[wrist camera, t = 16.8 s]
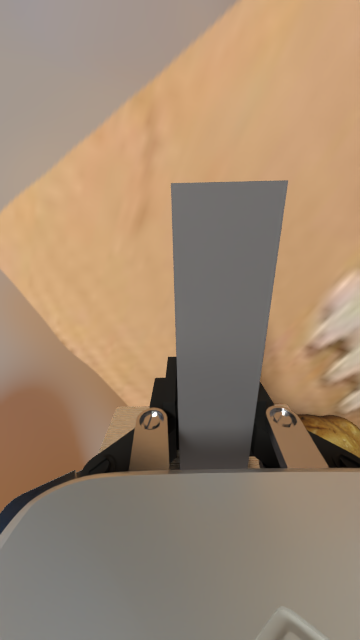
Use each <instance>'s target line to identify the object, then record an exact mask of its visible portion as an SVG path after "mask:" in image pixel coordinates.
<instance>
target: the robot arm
mask: <svg viewBox="0 0 360 640" xmlns="http://www.w3.org/2000/svg"><path fill="white" fill-rule="evenodd" d="M177 450H179V420H178V388H177V357H168V362H167V371H166V378H155V382H154V387H153V392H152V397H151V402H150V407H149V408H148V409H146V410H144V411H142V412H141V413H140V414H139V415H138V417H137V419H136V424H135V428H134V429H133V430H131V431H130V432H128V433H127V434H126V435H124V436H123V437H121V438H120V439H119V440H117V441H116V442H114V443H113V444H112V445H110V446H109V447H107V448H106V449H105V450H103V451H102V452H100V453H99V454H98V455H96V456H95V457H93V458H92V459H91V460H90V461H89V462H88V463H87V464H86V465H85V467H84V468H83V470H81V471H79V472H77V473H76V471H75V470H74V471H72V472H70V473H68V474H65V475H63V476H61V477H59V478H57V479H54V480H52V481H50V482H48V483H46V484H44V485H41V486H39V487H37V488H35V489H32V490H30V491H28V492H26V493H24V494H22V495H20V496H18V497H17V498H15V499H14V500H12V501H11V502H10V503H9V504H8V505H7V506H6V507H5V508H4V510H3V511H2V512H1V513H0V640H360V458H359V457H357V456H356V455H354V454H352V453H350V452H349V451H347V450H345V449H343V448H341V447H339V446H337V445H335V444H333V443H331V442H329V441H327V440H326V439H324V438H322V437H320V436H318V435H316V434H314V433H312V432H310V431H308V430H306V428H305V427H304V425H303V423H302V422H301V420H300V418H299V417H298V416H297V414H296V413H294V412H293V411H292V410H290V409H288V408H286V407H283V406H275V405H274V403H273V402H272V400H271V399H270V397H269V395H268V394H267V392H266V391H265V389H264V387H263V386H262V384H261V382H260V383H259V391H258V398H257V405H256V412H255V419H254V426H253V433H252V440H251V447H250V454H249V457H256V458H257V459H258V461H259V467H260V469H199V470H170V463H171V462H172V461H173V460H174V459H175V458H177Z"/></svg>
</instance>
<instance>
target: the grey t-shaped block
mask: <svg viewBox="0 0 360 640" xmlns="http://www.w3.org/2000/svg"><path fill="white" fill-rule="evenodd" d="M287 185H288V180H287V181H247V182H207V183H171V197H172V229H173V261H174V293H175V325H176V356H177V388H178V420H179V450H177V458H175V459H174V460H173V461H172V462H171V463H170V470H199V469H260V467H259V461H258V459H257V458H256V457H249V454H250V447H251V440H252V433H253V426H254V419H255V412H256V405H257V398H258V391H259V383H260V376H261V369H262V362H263V355H264V348H265V341H266V334H267V327H268V320H269V312H270V305H271V298H272V291H273V284H274V277H275V270H276V263H277V256H278V249H279V241H280V234H281V227H282V220H283V213H284V206H285V199H286V192H287ZM274 405H275V406H283V407H286V408H288V409H290V408H289V407H288V405H287V404H274ZM149 407H150V406H145V407H117V408H116V410H115V413H114V415H113V418H112V421H111V423H110V426H109V428H108V431H107V433H106V435H105V438H104V440H103V443H102V445H101V448H100V451H99V453H100V452H102V451H103V450H105V449H106V448H107V447H109V446H110V445H112V444H113V443H114V442H116V441H117V440H119V439H120V438H121V437H123V436H124V435H126V434H127V433H128V432H130V431H131V430H133V429H134V428H135V424H136V419H137V417H138V415H139V414H140V413H141V412H142V411H144V410H146V409H148V408H149ZM99 453H98V454H99Z"/></svg>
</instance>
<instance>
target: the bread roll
mask: <svg viewBox="0 0 360 640" xmlns="http://www.w3.org/2000/svg"><path fill="white" fill-rule="evenodd" d="M297 416H298V417H299V418H300V420H301V422H302V423H303V425H304V427H305V428H306V430H308V431H310V432H312V433H314V434H316V435H318V436H320V437H322V438H324V439H326V440H327V441H329V442H331V443H333V444H335V445H337V446H339V447H341V448H343V449H345V450H347V451H349V452H350V453H352V454H354V455H356V456H357V457H359V458H360V429H359V428H358V427H357V426H356V425H354V424H353V423H352V422H350V421H348V420H347V419H345V418H342V417H338V416H323V417H319V416H312V415H297Z"/></svg>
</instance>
